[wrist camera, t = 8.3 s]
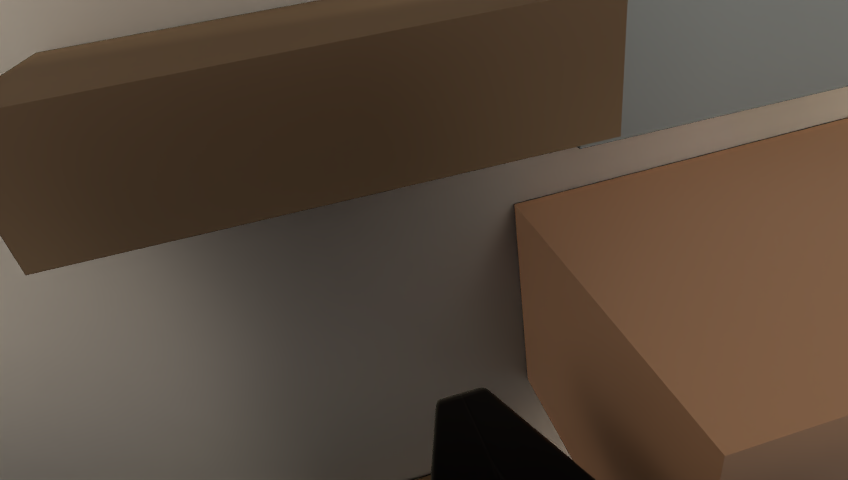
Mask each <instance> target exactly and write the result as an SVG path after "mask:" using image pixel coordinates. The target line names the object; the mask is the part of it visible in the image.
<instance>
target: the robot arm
mask: <svg viewBox="0 0 848 480" xmlns="http://www.w3.org/2000/svg"><path fill="white" fill-rule="evenodd" d="M431 480H596V479H594V478H593V477H592V476H591V475H590V474H588V473H587V472H586V471H585V470H584V469H582V468H581V467H580V466H579V465H578V464H576V463H575V462H574V461H573V460H572V459H570V458H569V457H568V456H567V455H566V454H564V453H563V452H562V451H561V450H560V449H558V448H557V447H556V446H555V445H554V444H552V443H551V442H550V441H549V440H548V439H546V438H545V437H544V436H543V435H542V434H540V433H539V432H538V431H537V430H536V429H535V428H533V427H532V426H531V425H530V424H529V423H527V422H526V421H525V420H524V419H523V418H521V417H520V416H519V415H518V414H517V413H515V412H514V411H513V410H512V409H511V408H509V407H508V406H507V405H506V404H505V403H503V402H502V401H501V400H500V399H499V398H497V397H496V396H495V395H494V394H493V393H491V392H490V391H489V390H488V389H486V388H478V389H474V390H471V391H467V392H464V393H461V394H457V395H454V396H450V397H447V398H443V399H440V400H439V401H438V402H437V404H436V413H435V427H434V440H433V454H432V467H431Z"/></svg>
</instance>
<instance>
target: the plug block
mask: <svg viewBox="0 0 848 480" xmlns="http://www.w3.org/2000/svg"><path fill="white" fill-rule="evenodd" d="M514 205H515V218H516V232H517V245H518V258H519V271H520V284H521V297H522V310H523V323H524V336H525V349H526V362H527V375H528V380H529V382H530V384H531V386H532V388H533V389H534V391H535V393H536V395H537V397H538V398H539V400H540V402H541V404H542V406H543V407H544V409H545V411H546V413H547V415H548V416H549V418H550V420H551V422H552V424H553V425H554V427H555V429H556V431H557V433H558V434H559V436H560V438H561V440H562V442H563V443H564V445H565V447H566V449H567V451H568V452H569V454H570V456H571V458H572V460H573V461H574V462H575V463H576V464H578V465H579V466H580V467H581V468H582V469H584V470H585V471H586V472H587V473H588V474H590V475H591V476H592V477H593V478H594V479H596V480H848V118H846V119H842V120H839V121H835V122H831V123H827V124H823V125H819V126H815V127H811V128H808V129H804V130H800V131H796V132H792V133H788V134H784V135H781V136H777V137H773V138H769V139H765V140H761V141H757V142H754V143H750V144H746V145H742V146H738V147H734V148H730V149H726V150H723V151H719V152H715V153H711V154H707V155H703V156H699V157H696V158H692V159H688V160H684V161H680V162H676V163H672V164H669V165H665V166H661V167H657V168H653V169H649V170H645V171H641V172H638V173H634V174H630V175H626V176H622V177H618V178H614V179H611V180H607V181H603V182H599V183H595V184H591V185H587V186H584V187H580V188H576V189H572V190H568V191H564V192H560V193H556V194H553V195H549V196H545V197H541V198H537V199H533V200H529V201H526V202H522V203H518V204H514Z"/></svg>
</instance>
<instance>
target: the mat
mask: <svg viewBox="0 0 848 480" xmlns="http://www.w3.org/2000/svg"><path fill="white" fill-rule="evenodd" d="M847 86H848V0H628V4H627V24H626V44H625V63H624V83H623V102H622V122H621V136H620V137H616V138H612V139H607V140H603V141H599V142H595V143H590V144H586V145H582V146H577V147H578V148H580V149H582V148H586V147H591V146H595V145H599V144H604V143H608V142H612V141H616V140H621V139H625V138H629V137H633V136H638V135H642V134H646V133H650V132H655V131H659V130H663V129H668V128H672V127H676V126H680V125H685V124H689V123H693V122H697V121H702V120H706V119H710V118H715V117H719V116H723V115H727V114H732V113H736V112H740V111H744V110H749V109H753V108H757V107H761V106H766V105H770V104H774V103H779V102H783V101H787V100H791V99H796V98H800V97H804V96H808V95H813V94H817V93H821V92H825V91H830V90H834V89H838V88H843V87H847Z"/></svg>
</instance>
